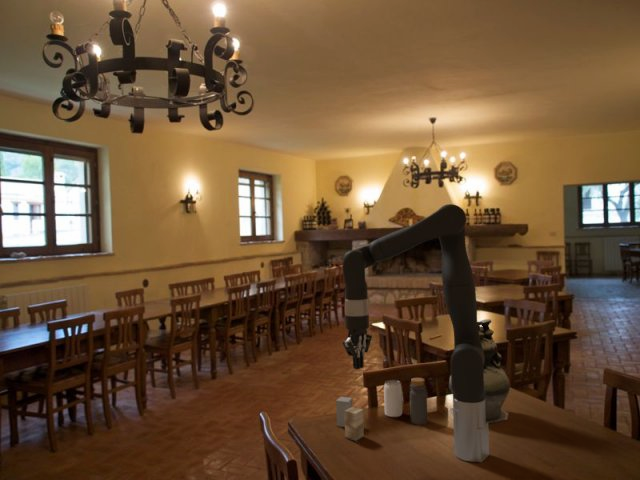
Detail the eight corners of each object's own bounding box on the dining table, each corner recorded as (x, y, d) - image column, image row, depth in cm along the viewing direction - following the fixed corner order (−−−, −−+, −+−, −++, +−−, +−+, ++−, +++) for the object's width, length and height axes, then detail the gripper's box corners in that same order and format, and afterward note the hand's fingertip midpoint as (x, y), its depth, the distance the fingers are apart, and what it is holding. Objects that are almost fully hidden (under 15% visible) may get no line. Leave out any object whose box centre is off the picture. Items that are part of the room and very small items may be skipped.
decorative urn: (439, 412, 186) (433, 319, 186) (483, 401, 194) (478, 312, 194) (477, 431, 166) (470, 327, 166) (525, 418, 175) (519, 319, 174)
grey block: (353, 423, 176) (352, 397, 176) (348, 427, 172) (347, 401, 172) (341, 421, 178) (340, 396, 178) (336, 426, 174) (336, 400, 174)
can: (397, 418, 179) (396, 385, 179) (381, 415, 183) (380, 383, 183) (405, 413, 184) (404, 381, 184) (390, 410, 188) (389, 378, 188)
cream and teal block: (363, 436, 165) (362, 409, 164) (356, 441, 161) (355, 413, 161) (352, 433, 167) (352, 406, 167) (345, 438, 164) (344, 410, 164)
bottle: (428, 424, 173) (427, 381, 173) (412, 425, 173) (410, 382, 173) (425, 418, 179) (424, 376, 179) (409, 418, 179) (408, 377, 179)
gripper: (354, 317, 148) (355, 375, 149) (378, 311, 159) (380, 365, 159) (334, 315, 153) (336, 371, 153) (359, 309, 164) (360, 361, 164)
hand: (358, 367), depth 156 cm, fingers closed
